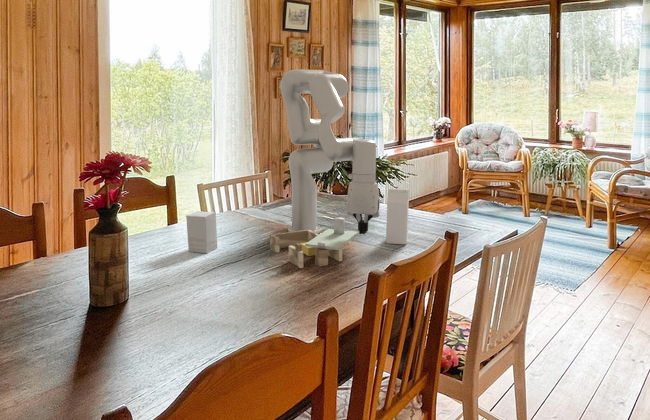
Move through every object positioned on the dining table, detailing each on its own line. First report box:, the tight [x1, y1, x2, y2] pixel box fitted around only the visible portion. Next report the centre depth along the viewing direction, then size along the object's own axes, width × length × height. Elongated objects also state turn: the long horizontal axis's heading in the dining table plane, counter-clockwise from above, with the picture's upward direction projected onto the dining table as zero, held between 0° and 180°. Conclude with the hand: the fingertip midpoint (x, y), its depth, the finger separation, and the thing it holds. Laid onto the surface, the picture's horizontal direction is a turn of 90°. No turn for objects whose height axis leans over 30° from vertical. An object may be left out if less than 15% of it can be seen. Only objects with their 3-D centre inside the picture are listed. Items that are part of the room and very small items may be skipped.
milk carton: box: [385, 188, 410, 245], centre depth 195 cm, size 7×7×19 cm
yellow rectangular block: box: [300, 242, 316, 257], centre depth 184 cm, size 6×4×3 cm, turn 28°
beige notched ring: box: [269, 229, 343, 269], centre depth 181 cm, size 25×15×7 cm, turn 29°
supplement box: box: [185, 210, 218, 254], centre depth 186 cm, size 7×7×13 cm
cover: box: [305, 217, 359, 250], centre depth 179 cm, size 21×11×6 cm, turn 158°
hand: (362, 233), depth 182 cm, fingers closed
